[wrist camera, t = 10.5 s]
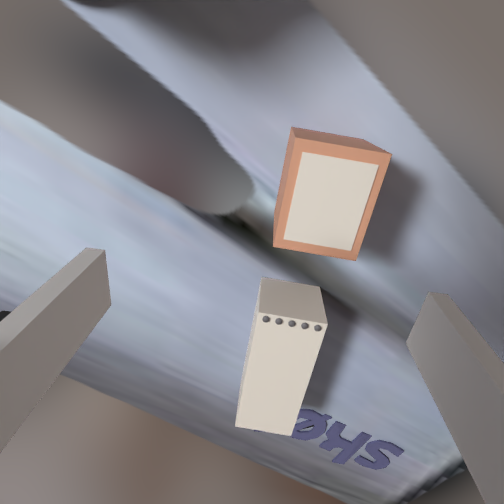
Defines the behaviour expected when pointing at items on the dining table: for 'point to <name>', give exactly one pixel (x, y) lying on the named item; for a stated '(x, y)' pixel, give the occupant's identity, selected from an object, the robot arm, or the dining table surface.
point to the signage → (342, 440)
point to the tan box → (327, 193)
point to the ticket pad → (280, 355)
